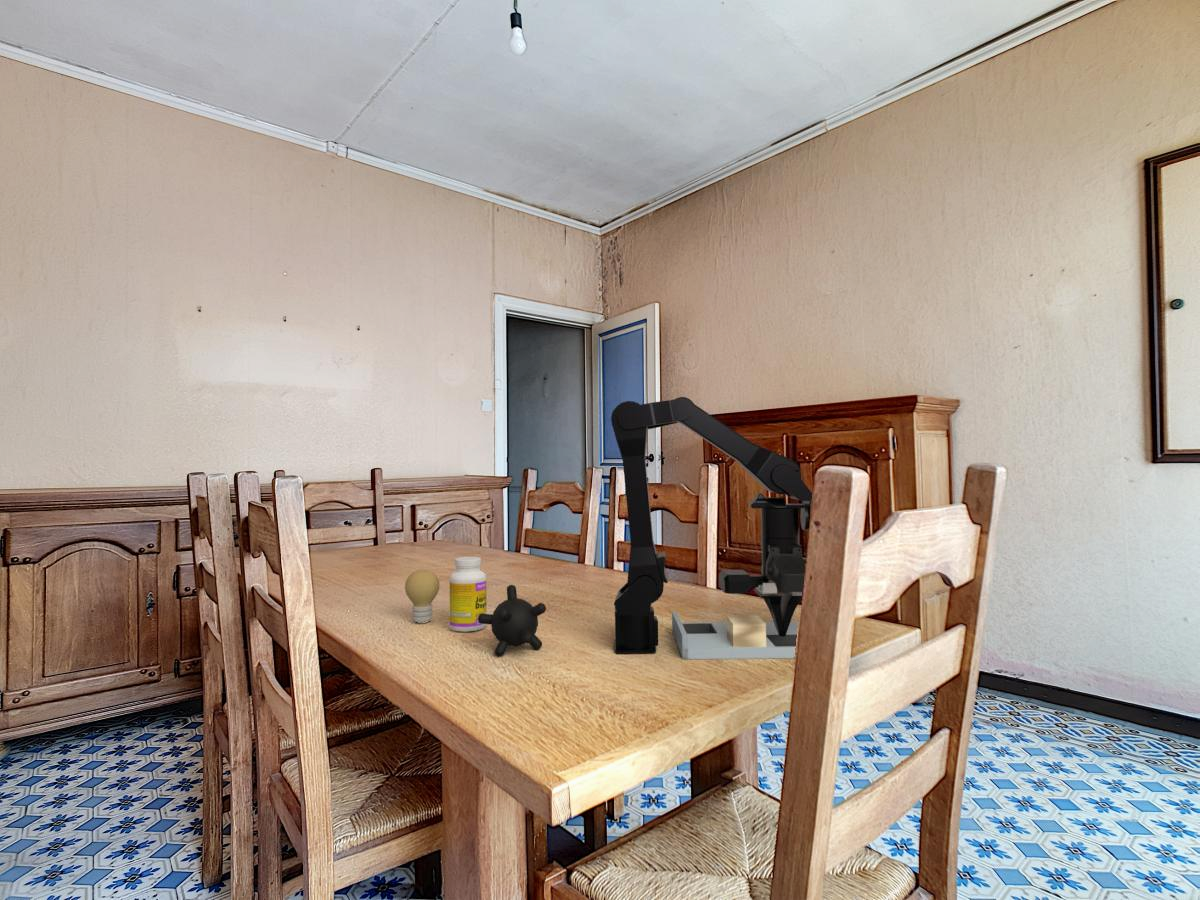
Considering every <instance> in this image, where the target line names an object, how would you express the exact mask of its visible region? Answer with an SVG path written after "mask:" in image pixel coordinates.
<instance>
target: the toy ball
mask: <svg viewBox="0 0 1200 900" xmlns="http://www.w3.org/2000/svg"><path fill="white" fill-rule="evenodd" d="M517 594H518V593H517V587H516V586H515V585H514V584H509V585H508V586H507V587H506V598H507V599H505V600H503V601H502V602H501V603H499V604H498V605H497V606H496V608H495V609H494V611H493V613H492V614H491V613H487V614H480V615H479V616H478V622H479V623H481V624H486V625H491V632H492V634H493V636H494V637H495V639H496V640H497V641H498V643H497V645H495V646H496V647H495V649H494V650H493V651H494V654H495V655H496V657H499V656H500V657H503V656H504V655H505V653H506V652H507V650H508V648H509V647H521V646H523V645H525V644H527V645H528V644H529V645H530V646H531V648H533V649H534V650H536V651H537V650H540V649H541V648H542V646H543V642H542V640H541V639H540V638H539V637H538V636H537V635H536V633H537V630H538V626H539V618H538V616H541V615H542V614H545V612H546V610H547V607H546V604H545V603H542V602H539V603H537V604H536V605H534V606H533V605H532V604H531V603H530V602H528V601H527V600H525V599H523V598H518V597H517Z"/></svg>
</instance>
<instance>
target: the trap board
mask: <svg viewBox="0 0 1200 900" xmlns="http://www.w3.org/2000/svg"><path fill="white" fill-rule="evenodd" d="M764 622H765V623H766V647H733V646H732V644H731V643H730V641H729V640H728V639H727V621H726V622H725V621H723V622H720V621H719V622H718V621H717V622H716V621H715V622H713V621H712V622H682V620H681V618H680V616H679V614H678V612H677V610H675V611H671V623H672V624H671V627H672V629H671V630H672V635H673V637H674V640H675V643H676V646H677V649H678V651H679V653H680V656H681V659H682V660H734V659H735V660H736V659H737V660H742V659H743V660H747V659H749V660H750V659H751V660H752V659H755V660H757V659H758V660H762V659H795V658H794V655H795V648H796V638H797V628H798V620H796V621H795V620H794V621H791V622H790V625H789V627H788V630H787V633H786V636H785V637H783V636H782V637H780V636H779V635H778V632H777V630H776V627H775V624H774V622H773V621H764Z"/></svg>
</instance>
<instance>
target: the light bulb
mask: <svg viewBox="0 0 1200 900" xmlns="http://www.w3.org/2000/svg"><path fill="white" fill-rule="evenodd" d="M404 590H405V594H406V596H407V597H408V599H409V600H410V601H411V603H412V604H413V605H412V608H411V609H412V612H411V613H412V618H411V619H412V621H413V622H414V623H415V622H426V621H430V620H431V621H432V620H433V619H434V616H433V604H432V603H433V602H434V601H433V600H435V598H436V596H437V595H438V593H439V590H440V579H439V577H438V576H437V575H436V574H435V572H434V571H431V570H429V569H418V570H415V571H413V572H412V573H410V574H409V576H407V578H406V581H405V584H404ZM431 621H430V622H431Z"/></svg>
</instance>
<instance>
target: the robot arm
mask: <svg viewBox="0 0 1200 900" xmlns="http://www.w3.org/2000/svg"><path fill="white" fill-rule="evenodd" d="M610 422H611V425H612V426H611V427H612V429H613V432H614V433H613V434H614V436H615V441H616V443H617V447H618V450H619V453H620V456H621V459H622V465H623V467H622V468H623V477H624V486H625V487H624V488H625V497H626V499H625V500H626V509H627V519H628V528H629V529H628V530H629V538H630V551H629V558H628V559H629V560H628V570H627V582H626V583H625V584H624V585H623V586H622V587H621V588H620V589H619V590H618V591H617V594H616V596H615V600H614V603H613V606H614V631H615V632H614V636H615V637H614V638H615V639H614V653H615V654H651V653H652V654H653V653H654V654H656V653H657V647H658V646H659V620H658V617H657V616H656V615H655V609H654V607H653V606H652V604H653V603H655V602H657V601H659V599H660V598H661V597H662V596H663V592H664V584H668V582H669V581H668V580H669V579H668V577H669V576H668V572H667V571H666V565H665V564H666V551H660V552H658V551H657V548H656V545H655V542H654V535H653V523H652V513H651V512H652V511H651V503H650V494H649V493H650V492H649V483H648V472H647V464H646V463H647V462H646V456H647V447H648V446H647V444H648V435H649V434H648V433H649V432H648V431H649V430H652V429H656V428H662V427H666V426H671V425H675V424H681V425H682V426H683V427H685V428H687V429H688V430H690V431H691V432H693V433H695V434H696V435H697V436H699V437H700V438H702V439H703V440H705V441H706V442H707V443H708V444H711V445H712V446H714V447H715V448H717V449H718V450H719V451H721V452H722V453H723V454H726V455H727V456H728V457H730V458H731V459H733V460H735V461H736V462H737V463H738V464H739V465H740V466H741V467H742V468H743V469H744V471H746V472H747V473H748V475H750V476H751V477H752V478H753V479H754V480H755V481H756V482H757V483H758V484H759V485H760V486H761V487H762V488H763V489H764V490H766V491H768V492H770V493H774V494H776V495H786V496H787V497H789V498H790V499H794V500H797V501H801V502H803V503H786V500H785V498H784V497H765V496H764V495H763V493H761V492H757V493H756V495H755V496H754V498H753V499H751V501H749V502H748V504H747V505H748V507H750V508H751V509H760V511H761V512H760V514H761V515H760V521H761V523H760V527H761V532H760V533H761V540H760V548H761V566H760V573H761V574H749V573H748V572H747V571H745V570H744V569H722V570H721V571H720V572H719V573H718V587H719V588H720V589H721V591H723V593H724V594H728V595H730V594H732V595H737V594H738V595H741V594H743V595H745V594H747V593H749V592H750V590H751V589H752V588H754V590H753V591H754V593H755V594H757V596H759V597H760V599H763V600H764V602H765V604H766V606H767V608H768V610H769V611H768V612H769V613H770V615H771V618H772V622H774V624H775V627H776V630H777V632H778V635H779V636H780V637H782V636H783V637H785V636H786V633H787V630H788V627H789V625H790V622H792V619H793V615H794V613H795V612H796V609H797V607H798V606H799V604H800V603H801V602H802V601H803V599H802V593H803V584H804V572H805V560H806V559H804V556H803V549H802V544H800V525H801V529H802V530H803V531H808V530H809V519H810V507H811V499H812V494H813V491H811V489H810V488H809V487H808V486H807V485H806V483H805V482H804V481H803V480H802V474H801V468H800V466H799V464H797V462H795V460H793V459H791V458H789V457H786V456H784V455H782V454H780V453H777V452H775V451H773V450H770V449H769V448H765V447H763V446H760V445H759V444H755V443H753V442H752V441H750V440H749V439H747V438H746V437H744V436H743V435H742V434H740V433H738V432H736V431H735V430H734V429H732V428H730V427H729V426H727V424H725V423H723V422H722V421H720V420H719V419H717V418H716V417H714V416H712V415H711V414H709V412H707V411H705V410H704V409H702V408H701V407H700V406H699V405H698V406H697V404H695V403H694V402H693V401H692V400H691V398H688V397H684V396H680V397H679V396H678V397H676V398H675V399H668V400H662V401H655V402H648V403H641V404H640V403H638V402H636V401H631V400H625V401H623V402H621V403H619V404H618V405H616V407H615V408H614V409H613V410H612V413H611V418H610ZM799 511H800V512H799ZM799 513H800V514H799ZM778 592H779V593H778Z"/></svg>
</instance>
